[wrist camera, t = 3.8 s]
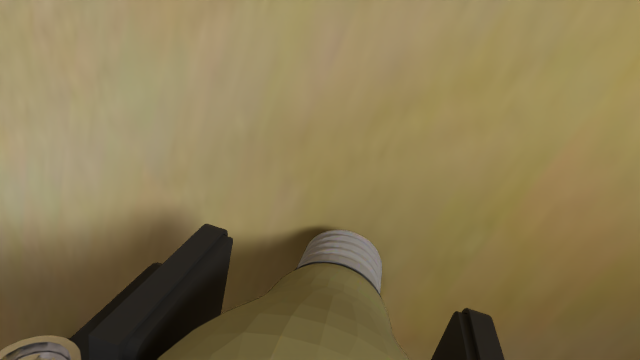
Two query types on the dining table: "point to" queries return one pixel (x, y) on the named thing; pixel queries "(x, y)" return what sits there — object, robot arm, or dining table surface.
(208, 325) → the light bulb
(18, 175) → the dining table surface
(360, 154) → the dining table surface
